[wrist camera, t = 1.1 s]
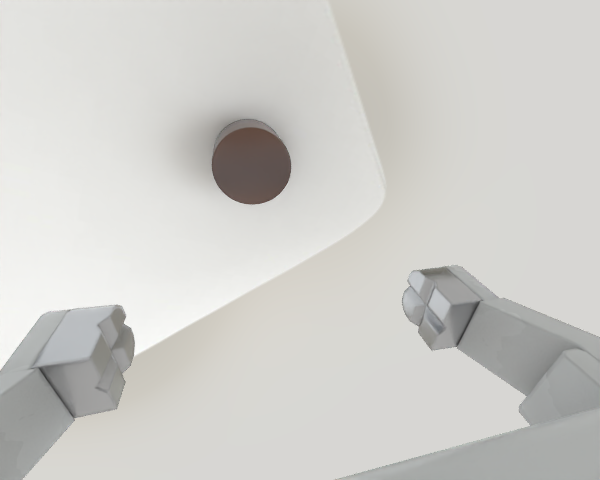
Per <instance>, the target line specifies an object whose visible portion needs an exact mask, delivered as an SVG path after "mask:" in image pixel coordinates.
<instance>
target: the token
mask: <svg viewBox="0 0 600 480" xmlns="http://www.w3.org/2000/svg"><path fill="white" fill-rule="evenodd" d="M212 171H213V176H214V179H215V181H216V183H217V185H218V186H219V188H220V189H221V190H222V191H223V192H224V193H225V194H226V195H227V196H228V197H230V198H231V199H233V200H235V201H238V202H240V203H244V204H260V203H264V202H267V201H269V200H271V199H273V198H275V197H276V196H277V195H278V194H280V193H281V191H282V190H283V189H284V188H285V186H286V184H287V182H288V180H289V177H290V173H291V160H290V156H289V153H288V151H287V148H286V147H285V145H284V144H283V142H282V141H281V139H280V138H279V137H278V135H277V134H276V133H275V132H274V130H272V129H271V128H270V127H269V126H268V125H266V124H264V123H262V122H260V121H256V120H250V119H245V120H239V121H236V122H233V123H231V124H229V125H228V126H227V127H225V128H224V129H223V130H222V131H221V133H220V134H219V136H218V137H217V139H216V142H215V146H214V151H213V158H212Z"/></svg>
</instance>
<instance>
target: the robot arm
mask: <svg viewBox="0 0 600 480" xmlns="http://www.w3.org/2000/svg"><path fill="white" fill-rule="evenodd" d="M408 283H409V285H410V287H408V288H407V289H406V290H405V292H404V294H403V298H402V305H403V310H404V312H405V315H406V316H407V317H408V319H409V320H410V321H411V322H412V323H414V324H416V325H417V326H419V329H418V333H419V334H420V336H421V337H422V338H423V339H424V341H425V342H426V344H427V345H428V346H429V348H430V349H431V350H438V349H445V348H451V347H457V349H459V350H460V351H462V352H463V353H465V354H466V355H468V356H469V357H471V358H472V359H473V360H475V361H476V362H478V363H479V364H481V365H482V366H484V367H485V368H487V369H488V370H489V371H491V372H493V373H494V374H495V375H497V376H498V377H500V378H501V379H503V380H504V381H506V382H507V383H508V384H510V385H511V386H513V387H514V388H516V389H517V390H519V391H520V392H522V393H523V394H525V395H526V396H527V397H526V398H525V400H524V401H523V402H522V403H521V404H520V406H519V412H520V414H521V415H522V416H523V417H524V418H525V419H526V421H527V422H528V423H529V424H530V426H529V427H525V428H521V429H518V430H514V431H510V432H507V433H503V434H499V435H496V436H492V437H488V438H485V439H481V440H477V441H474V442H470V443H467V444H463V445H459V446H456V447H452V448H449V449H445V450H441V451H437V452H434V453H430V454H426V455H423V456H419V457H416V458H412V459H409V460H405V461H401V462H398V463H394V464H390V465H386V466H383V467H379V468H375V469H372V470H368V471H364V472H361V473H358V474H354V475H350V476H346V477H343V478H339V479H335V480H600V337H598V336H596V335H593V334H591V333H588V332H586V331H583V330H581V329H579V328H576V327H574V326H571V325H569V324H566V323H564V322H561V321H559V320H557V319H554V318H552V317H549V316H547V315H545V314H542V313H540V312H537V311H535V310H532V309H530V308H527V307H525V306H523V305H520V304H518V303H515V302H513V301H510V300H508V299H505V298H499V297H497V296H496V295H495V294H494V293H493V292H491V291H490V290H489V289H488V288H487V287H485V286H484V285H483V284H482V283H481V282H479V281H478V280H477V279H476V278H475V277H473V276H472V275H471V274H470V273H469V272H467V271H466V270H465V269H464V268H463V267H461V266H458V265H451V266H445V267H439V268H430V269H422V270H414V271H412V272H411V274H410V275H409V278H408ZM125 318H126V314H125V312H124V310H123V307H122V306H120V305H109V306H99V307H88V308H77V309H72V310H61V311H50V312H47V313H45V314H43V315H42V316H41V317H40V318H39V319H38V321H37V322H36V323H35V325H34V326H33V327H32V329H31V330H30V331H29V333H28V334H27V335H26V337H25V338H24V339H23V341H22V342H21V343H20V345H19V346H18V347H17V349H16V350H15V352H14V353H13V354H12V356H11V357H10V358H9V360H8V361H7V362H6V364H5V365H4V366H3V368H2V369H1V370H0V480H22V479H23V478H24V477H25V475H26V474H27V473H28V472H29V471H30V470H31V469H32V468H33V467H34V466H35V464H36V463H37V462H38V461H39V460H40V459H41V458H42V456H44V454H45V453H46V452H47V451H48V450H49V449H50V448H51V447H52V445H53V444H54V443H55V442H56V441H57V440H58V439H59V438H60V436H61V435H62V434H63V433H64V432H65V431H66V430H67V428H68V427H69V426H70V425H71V424H72V423H73V422H74V421H75V420H74V418H77V417H82V416H86V415H91V414H96V413H101V412H105V411H110V410H115V409H117V407H118V404H119V401H120V397H121V395H122V391H123V388H124V385H125V380H124V378H123V375H122V373H123V372H124V371H126V370H127V369H128V368H129V367H130V366H131V363H132V359H133V356H134V346H135V342H134V335H133V332H132V330H131V328H130V327H128V326H126V325H125V324H123V323H124V320H125Z"/></svg>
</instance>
